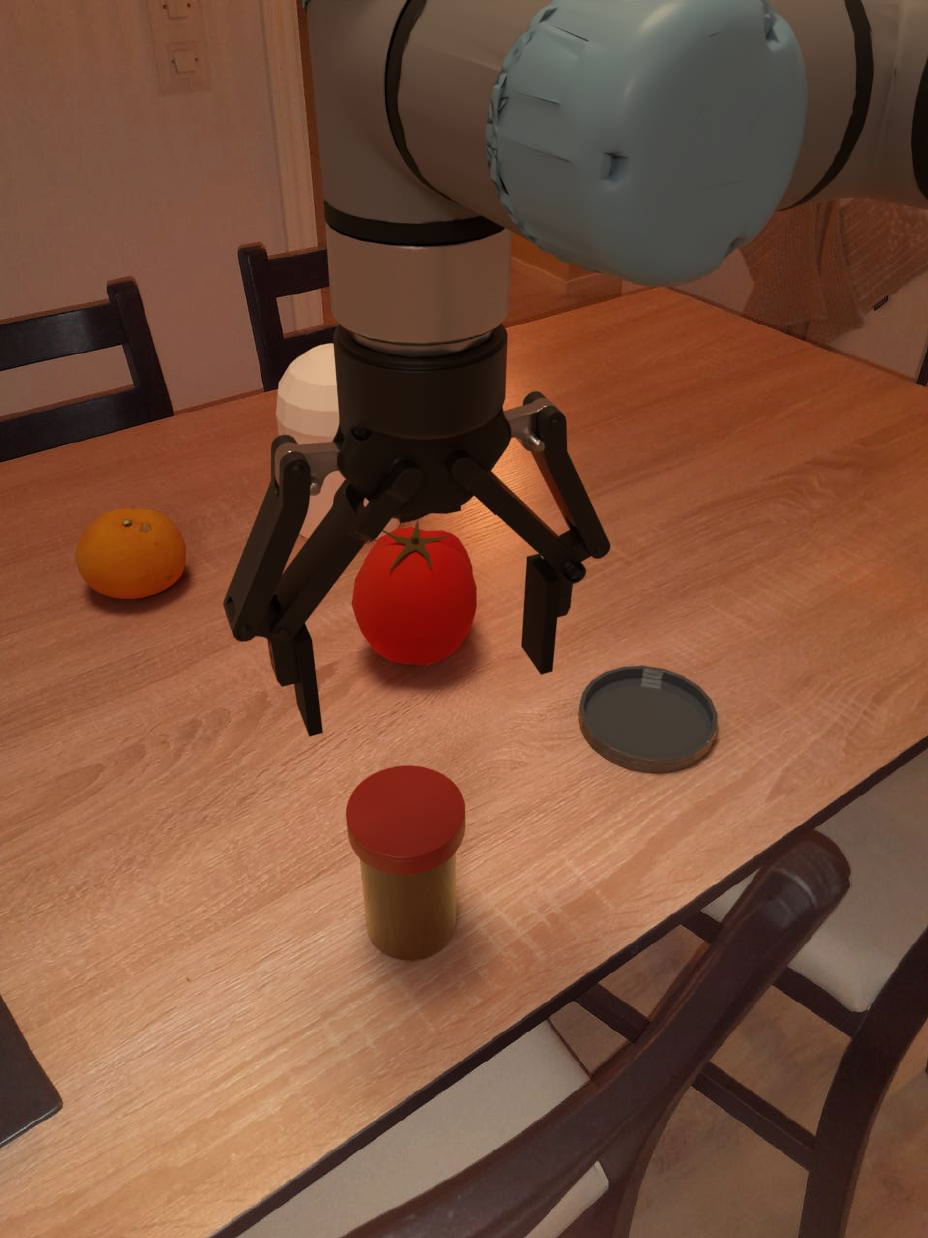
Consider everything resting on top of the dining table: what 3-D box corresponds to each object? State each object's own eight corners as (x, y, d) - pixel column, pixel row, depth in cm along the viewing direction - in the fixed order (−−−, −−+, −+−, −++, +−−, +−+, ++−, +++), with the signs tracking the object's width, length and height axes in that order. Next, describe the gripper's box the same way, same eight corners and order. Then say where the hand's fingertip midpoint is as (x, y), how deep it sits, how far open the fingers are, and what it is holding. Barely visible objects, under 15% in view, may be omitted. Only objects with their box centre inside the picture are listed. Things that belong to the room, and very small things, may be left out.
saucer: (742, 749, 82) (745, 736, 81) (621, 789, 79) (623, 776, 78) (667, 665, 91) (669, 653, 90) (555, 698, 87) (556, 685, 86)
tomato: (506, 650, 93) (511, 534, 84) (408, 710, 86) (403, 591, 78) (426, 596, 99) (423, 484, 91) (329, 649, 93) (317, 533, 84)
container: (395, 549, 106) (387, 378, 94) (275, 542, 107) (252, 372, 95) (412, 487, 116) (407, 325, 104) (303, 481, 117) (285, 320, 105)
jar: (474, 923, 69) (476, 816, 62) (405, 978, 65) (399, 872, 58) (416, 868, 72) (411, 762, 65) (348, 918, 69) (335, 811, 62)
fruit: (157, 623, 96) (141, 556, 91) (66, 603, 98) (45, 537, 93) (210, 565, 103) (198, 501, 98) (124, 548, 106) (108, 485, 101)
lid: (489, 830, 62) (489, 811, 61) (398, 897, 58) (397, 878, 57) (413, 766, 67) (412, 748, 66) (324, 824, 63) (321, 806, 62)
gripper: (632, 259, 48) (592, 600, 61) (107, 328, 40) (192, 700, 54) (718, 313, 42) (654, 675, 55) (129, 404, 35) (217, 797, 48)
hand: (427, 688), depth 55 cm, fingers open, 13 cm apart
